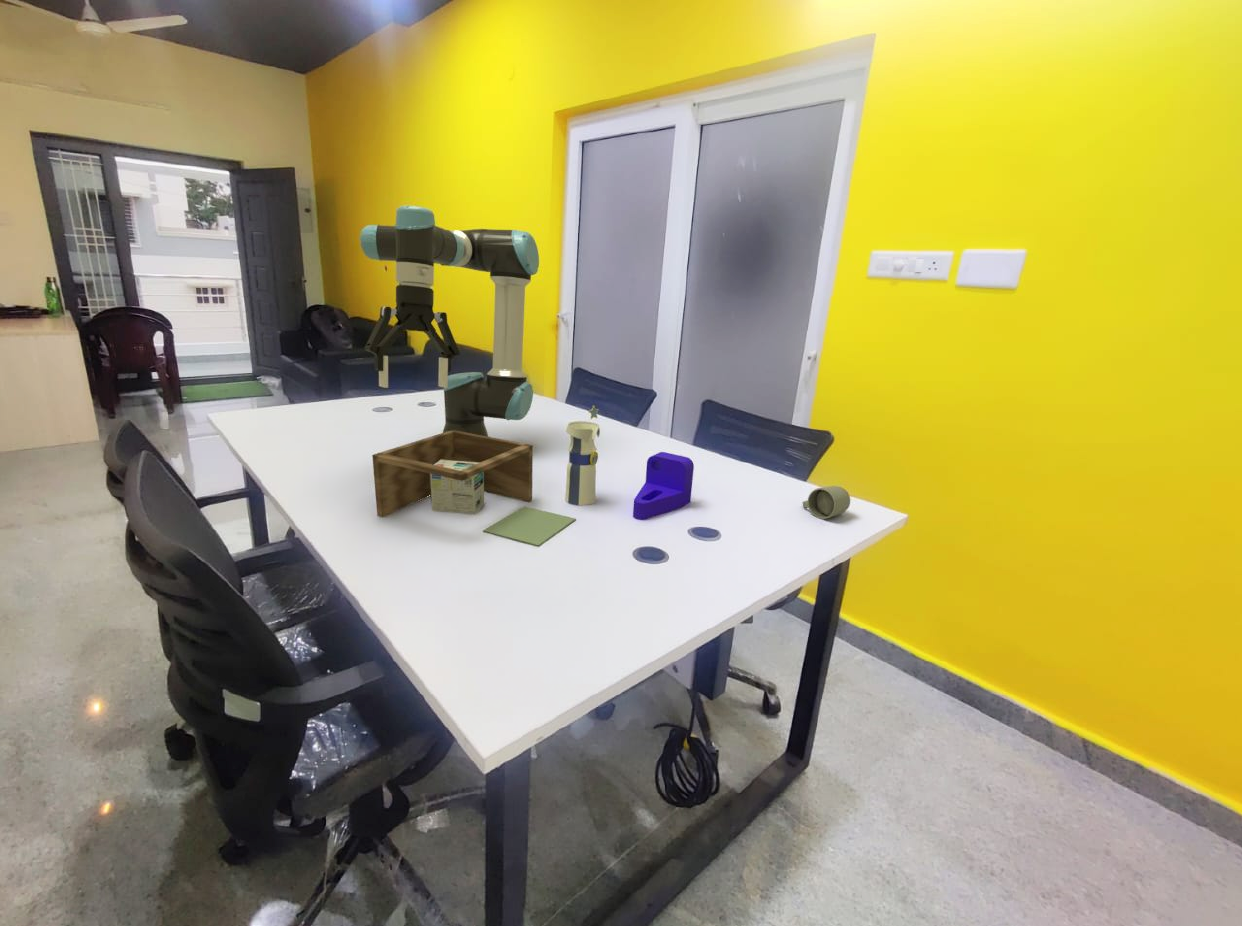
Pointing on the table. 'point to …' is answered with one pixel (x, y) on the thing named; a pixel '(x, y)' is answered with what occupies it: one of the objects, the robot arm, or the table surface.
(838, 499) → the ceramic mug
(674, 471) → the bracket
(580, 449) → the belted robe figure
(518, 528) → the mat
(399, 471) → the open wooden box frame
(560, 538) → the table surface
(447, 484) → the light bulb box
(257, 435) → the table surface
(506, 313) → the robot arm
